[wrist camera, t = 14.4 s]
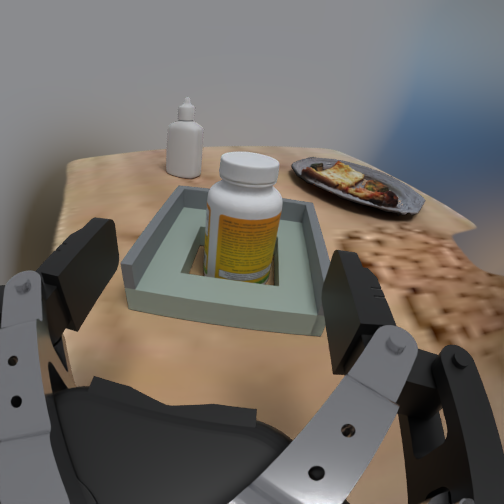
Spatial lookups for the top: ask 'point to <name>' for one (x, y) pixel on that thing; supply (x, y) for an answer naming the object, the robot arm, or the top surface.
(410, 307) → the top surface
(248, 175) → the supplement bottle
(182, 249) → the box
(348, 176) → the food plate
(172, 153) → the eye dropper bottle
